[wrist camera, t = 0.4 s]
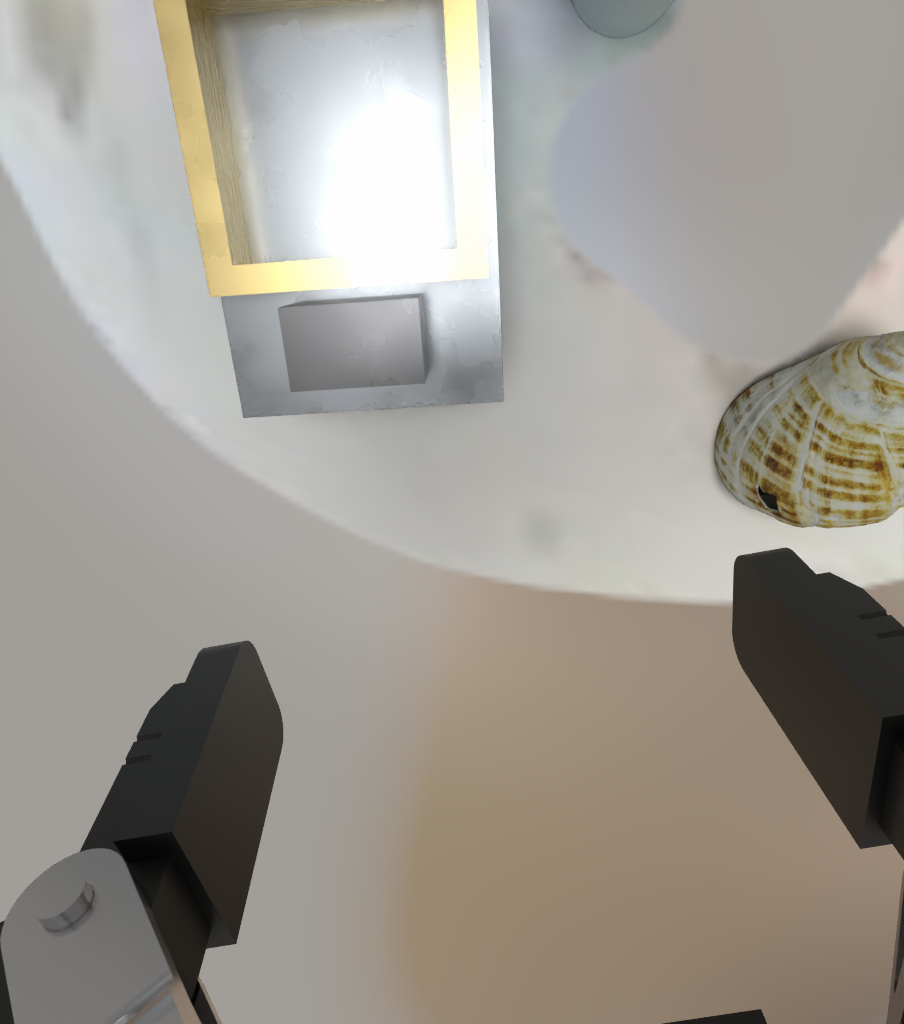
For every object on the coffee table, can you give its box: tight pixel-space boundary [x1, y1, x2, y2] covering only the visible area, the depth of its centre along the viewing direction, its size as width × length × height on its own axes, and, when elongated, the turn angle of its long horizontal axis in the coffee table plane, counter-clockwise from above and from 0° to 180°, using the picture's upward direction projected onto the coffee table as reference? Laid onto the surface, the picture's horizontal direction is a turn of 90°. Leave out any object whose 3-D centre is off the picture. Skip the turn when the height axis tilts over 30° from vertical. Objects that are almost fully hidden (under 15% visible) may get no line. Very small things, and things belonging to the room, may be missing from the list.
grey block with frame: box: [153, 0, 504, 418], centre depth 27 cm, size 18×11×12 cm, turn 4°
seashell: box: [715, 331, 904, 528], centre depth 34 cm, size 10×10×10 cm
